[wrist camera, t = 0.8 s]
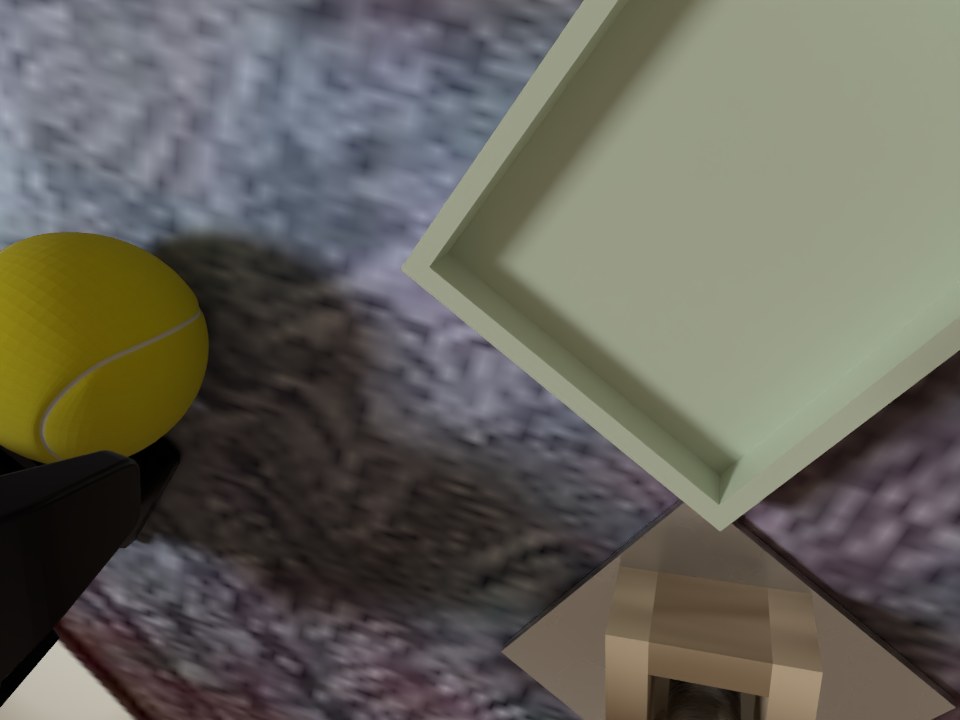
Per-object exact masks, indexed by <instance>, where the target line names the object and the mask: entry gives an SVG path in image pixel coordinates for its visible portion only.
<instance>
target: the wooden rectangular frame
mask: <svg viewBox="0 0 960 720" xmlns="http://www.w3.org/2000/svg"><path fill="white" fill-rule="evenodd" d="M822 675H823V671H822V664H821V657H820V650H819V644H818V637H817V630H816V623H815V617H814V610H813V603H812V596H811V594H807V593H800V592H793V591H786V590H779V589H772V588H765V587H758V586H751V585H745V584H738V583H731V582H724V581H717V580H710V579H703V578H696V577H689V576H682V575H675V574H669V573H662V572H655V571H648V570H641V569H634V568H627V567H619V571H618V576H617V581H616V586H615V590H614V595H613V600H612V605H611V609H610V614H609V619H608V624H607V628H606V633H605V700H606V720H653V716H654V685H655V676H659V677H664V678H669V679H675V680H680V681H685V682H690V683H696V684H701V685H706V686H712V687H717V688H722V689H727V690H733V691H738V692H743V693H748V694H754V695H756V700H755V709H754V718H753V720H816V713H817V707H818V701H819V694H820V688H821V681H822Z"/></svg>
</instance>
